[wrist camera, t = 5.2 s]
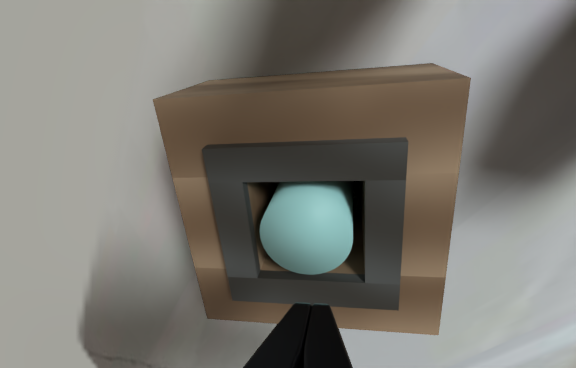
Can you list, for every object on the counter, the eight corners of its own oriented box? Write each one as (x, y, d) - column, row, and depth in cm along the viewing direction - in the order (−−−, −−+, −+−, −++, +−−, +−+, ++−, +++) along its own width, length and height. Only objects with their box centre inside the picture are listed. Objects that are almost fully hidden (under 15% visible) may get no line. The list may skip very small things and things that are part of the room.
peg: (353, 212, 20) (353, 276, 15) (287, 211, 21) (265, 272, 15) (352, 148, 18) (352, 194, 13) (280, 150, 19) (254, 195, 14)
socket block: (416, 259, 21) (441, 345, 16) (240, 253, 24) (203, 327, 18) (432, 63, 17) (476, 80, 11) (209, 80, 19) (144, 102, 13)
